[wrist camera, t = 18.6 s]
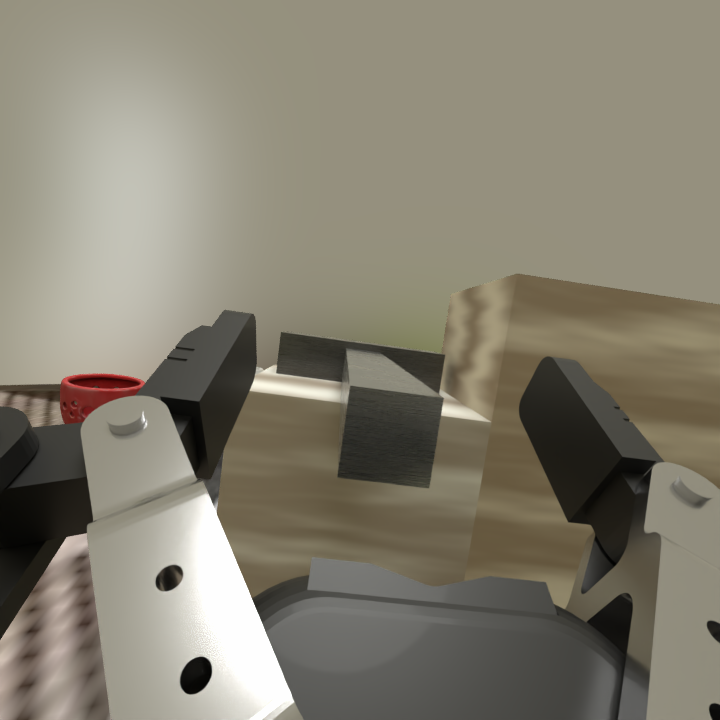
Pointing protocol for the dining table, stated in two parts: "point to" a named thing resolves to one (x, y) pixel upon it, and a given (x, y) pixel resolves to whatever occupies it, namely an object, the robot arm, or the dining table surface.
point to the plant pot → (93, 393)
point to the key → (375, 404)
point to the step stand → (471, 441)
